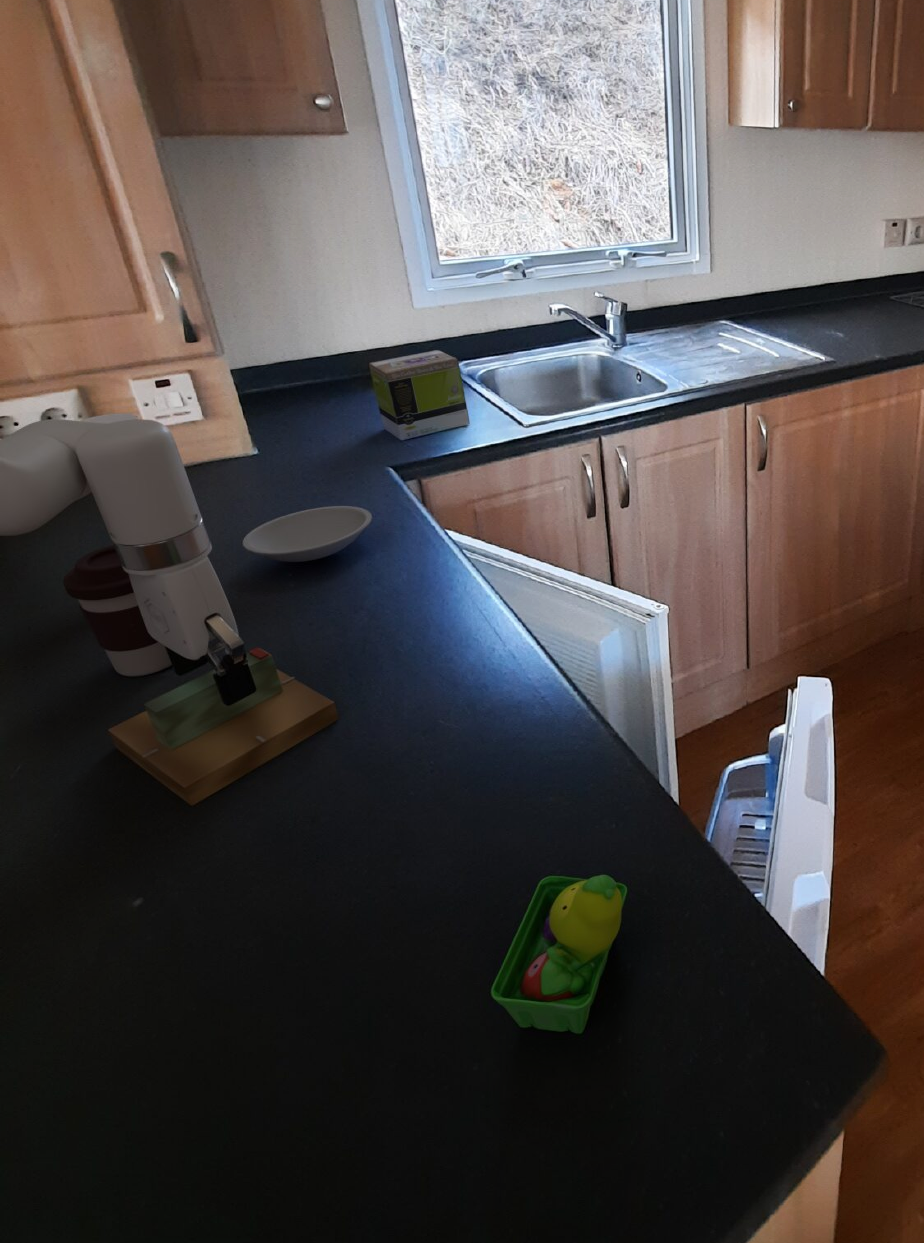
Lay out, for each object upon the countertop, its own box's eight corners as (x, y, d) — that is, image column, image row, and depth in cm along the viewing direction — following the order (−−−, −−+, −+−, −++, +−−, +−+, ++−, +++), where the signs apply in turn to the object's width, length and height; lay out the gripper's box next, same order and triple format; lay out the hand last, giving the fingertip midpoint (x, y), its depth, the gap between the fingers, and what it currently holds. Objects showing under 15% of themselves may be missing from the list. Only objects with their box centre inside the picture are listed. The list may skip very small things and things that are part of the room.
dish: (361, 524, 142) (354, 497, 140) (391, 556, 133) (385, 527, 130) (241, 557, 132) (232, 528, 130) (264, 595, 122) (255, 564, 120)
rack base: (191, 807, 86) (183, 787, 85) (113, 747, 94) (105, 728, 93) (340, 719, 99) (335, 700, 97) (261, 672, 106) (255, 655, 105)
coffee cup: (83, 673, 105) (37, 567, 99) (162, 631, 114) (124, 531, 107) (138, 693, 102) (94, 584, 96) (215, 648, 111) (180, 545, 104)
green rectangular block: (171, 750, 90) (155, 710, 88) (158, 741, 91) (142, 702, 89) (283, 690, 99) (271, 653, 97) (270, 683, 100) (258, 646, 98)
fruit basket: (548, 914, 76) (533, 820, 71) (647, 924, 75) (638, 829, 70) (495, 1041, 65) (473, 942, 60) (609, 1054, 65) (596, 954, 60)
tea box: (451, 413, 191) (439, 348, 184) (470, 425, 184) (459, 358, 178) (382, 429, 182) (367, 360, 175) (400, 442, 175) (385, 371, 169)
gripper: (80, 538, 87) (139, 675, 94) (167, 584, 78) (223, 731, 86) (160, 510, 92) (210, 642, 100) (249, 550, 84) (295, 691, 92)
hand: (216, 683), depth 93 cm, fingers open, 9 cm apart
